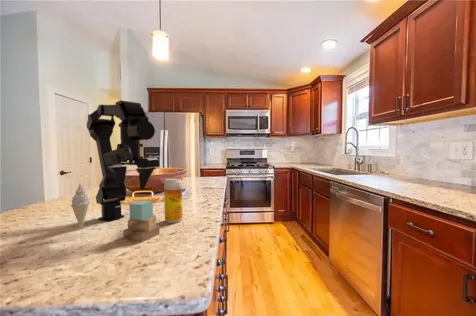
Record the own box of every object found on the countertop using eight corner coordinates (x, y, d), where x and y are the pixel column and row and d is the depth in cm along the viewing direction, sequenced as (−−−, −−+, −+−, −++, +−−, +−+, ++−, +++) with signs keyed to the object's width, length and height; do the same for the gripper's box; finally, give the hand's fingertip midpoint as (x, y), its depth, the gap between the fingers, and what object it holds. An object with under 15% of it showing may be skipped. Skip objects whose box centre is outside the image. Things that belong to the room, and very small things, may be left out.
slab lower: (123, 240, 69) (123, 230, 69) (141, 232, 75) (141, 223, 75) (142, 243, 66) (142, 233, 66) (159, 235, 73) (159, 225, 73)
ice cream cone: (94, 227, 79) (92, 182, 79) (79, 232, 75) (77, 184, 74) (82, 225, 81) (81, 181, 80) (68, 230, 76) (66, 183, 76)
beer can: (177, 224, 82) (177, 180, 81) (161, 223, 83) (160, 180, 82) (185, 218, 88) (184, 178, 87) (170, 218, 89) (169, 178, 88)
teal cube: (129, 219, 69) (129, 203, 69) (141, 215, 73) (141, 200, 73) (141, 220, 68) (141, 204, 67) (152, 216, 72) (152, 201, 72)
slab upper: (127, 231, 68) (127, 220, 68) (136, 224, 74) (136, 214, 74) (149, 230, 68) (148, 220, 68) (156, 224, 74) (155, 214, 74)
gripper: (86, 140, 73) (88, 190, 74) (131, 139, 66) (133, 195, 67) (117, 141, 84) (118, 185, 84) (159, 140, 76) (160, 189, 77)
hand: (131, 188), depth 78 cm, fingers open, 9 cm apart
